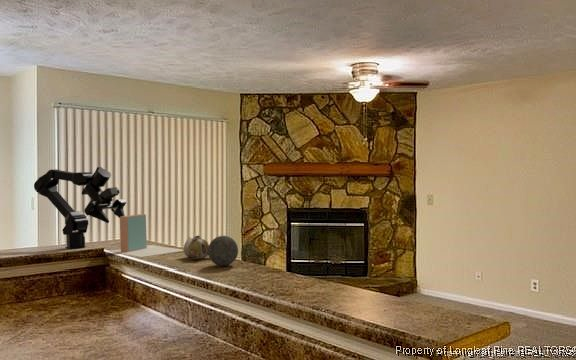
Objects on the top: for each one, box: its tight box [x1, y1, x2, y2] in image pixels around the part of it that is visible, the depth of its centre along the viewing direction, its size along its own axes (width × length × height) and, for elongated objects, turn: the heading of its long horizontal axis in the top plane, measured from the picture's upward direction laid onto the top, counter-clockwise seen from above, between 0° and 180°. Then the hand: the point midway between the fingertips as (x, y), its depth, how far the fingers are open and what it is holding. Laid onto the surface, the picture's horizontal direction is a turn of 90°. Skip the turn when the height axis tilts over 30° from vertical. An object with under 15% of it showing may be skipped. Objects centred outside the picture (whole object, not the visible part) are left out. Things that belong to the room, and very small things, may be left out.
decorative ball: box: [207, 235, 239, 267], centre depth 172 cm, size 10×10×10 cm
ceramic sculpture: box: [182, 235, 210, 260], centre depth 189 cm, size 11×9×15 cm
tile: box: [119, 213, 148, 252], centre depth 210 cm, size 4×11×14 cm, turn 154°
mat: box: [109, 244, 184, 258], centre depth 208 cm, size 20×26×1 cm
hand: (116, 221), depth 214 cm, fingers open, 9 cm apart
